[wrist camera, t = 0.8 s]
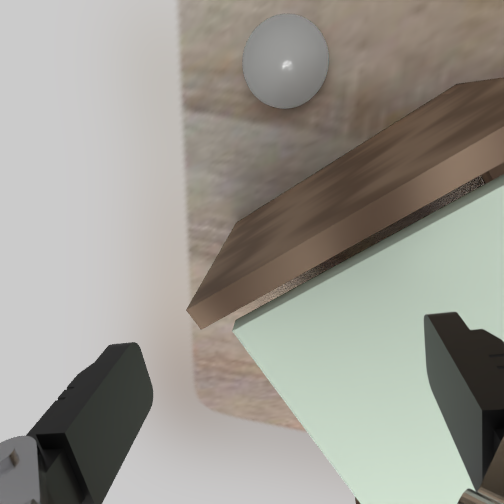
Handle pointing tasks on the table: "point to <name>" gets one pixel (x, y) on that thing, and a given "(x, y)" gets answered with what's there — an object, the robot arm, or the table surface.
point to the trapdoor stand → (358, 196)
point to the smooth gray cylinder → (285, 61)
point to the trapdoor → (385, 348)
